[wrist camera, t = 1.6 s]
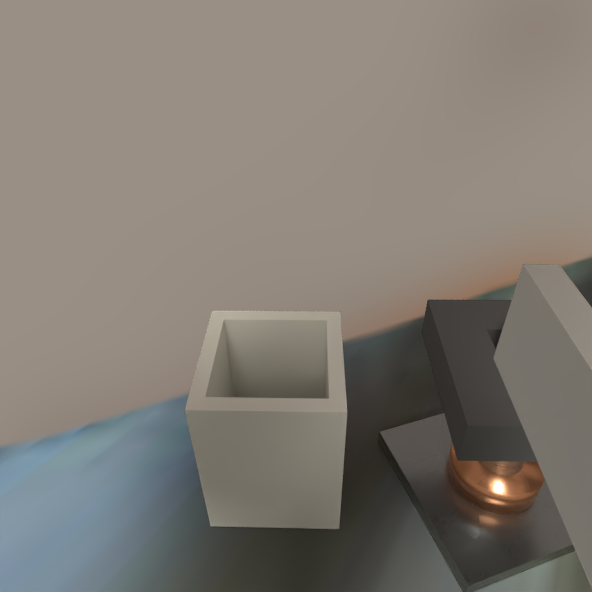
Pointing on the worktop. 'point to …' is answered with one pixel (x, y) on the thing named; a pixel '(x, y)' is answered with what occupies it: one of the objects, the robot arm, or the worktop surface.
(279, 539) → the worktop surface
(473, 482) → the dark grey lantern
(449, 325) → the dark grey square slab
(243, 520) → the sleeve
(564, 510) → the robot arm
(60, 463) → the worktop surface
